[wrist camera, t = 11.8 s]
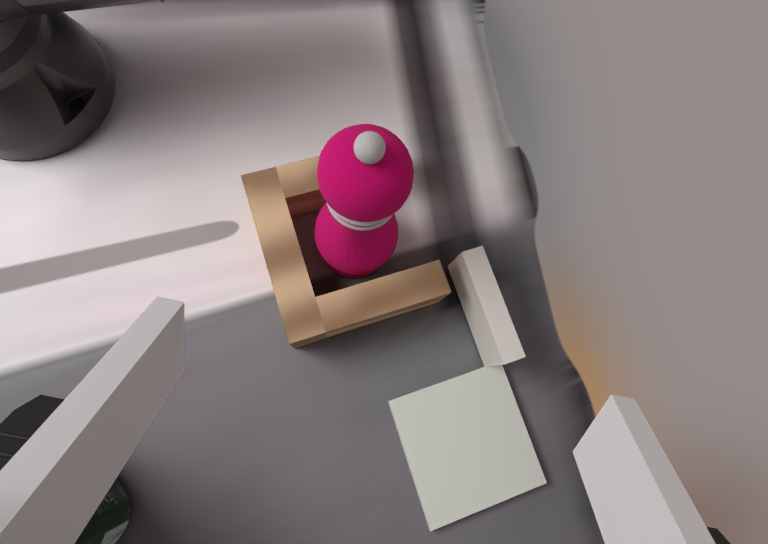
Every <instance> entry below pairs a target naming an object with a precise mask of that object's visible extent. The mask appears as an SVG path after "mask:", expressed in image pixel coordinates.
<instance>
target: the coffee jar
mask: <svg viewBox="0 0 768 544" xmlns="http://www.w3.org/2000/svg"><path fill="white" fill-rule="evenodd" d="M130 512H131V507H130V501H129V498H128V496H127V494H126V492H125V491H124V489H123V488H122V486H121V485H120V483H119V482H118V480H117V479H116V480H115V481H114V483H113V484H112V486H111V488H110V489H109V491H108V492H107V494H106V495H105V497H104V498H103V500H102V502H101V503H100V505H99V506H98V508H97V509H96V511H95V513H94V514H93V516H92V517H91V519H90V520H89V522H88V523H87V525H86V527H85V528H84V530H83V531H82V533H81V534H80V536H79V537H78V539H77V541H76V542H75V544H115V543H116V541H117V540H118V539H119V538H120V536H121V535H122V534H123V532H124V531H125V529H126V527H127V525H128V522H129V519H130Z"/></svg>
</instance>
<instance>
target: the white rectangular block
mask: <svg viewBox="0 0 768 544" xmlns="http://www.w3.org/2000/svg"><path fill="white" fill-rule="evenodd" d="M447 267H448V269H449V272H450V275H451V278H452V280H453V283H454V286H455V288H456V291H457V294H458V297H459V299H460V302H461V305H462V307H463V310H464V313H465V315H466V318H467V321H468V324H469V326H470V329H471V332H472V334H473V337H474V340H475V343H476V345H477V348H478V351H479V353H480V356H481V359H482V362H483V364H484V367H486V366H496V365H505V364H507V363H510V362H513V361H516V360H519V359H521V358H524V357H526V356H525V353H524V351H523V348H522V346H521V343H520V341H519V338H518V335H517V333H516V330H515V328H514V325H513V323H512V320H511V317H510V315H509V312H508V310H507V307H506V305H505V302H504V299H503V297H502V294H501V292H500V289H499V287H498V284H497V281H496V279H495V276H494V274H493V271H492V269H491V266H490V263H489V261H488V258H487V256H486V253H485V251H484V248H483V246H480V247H477V248H473V249H470V250H467V251H463V252H461V253H460V254H459V255H458V256H457V257H456V258H455V259H454V260H453V261H452V262H451V263H450V264H449V265H448V266H447Z"/></svg>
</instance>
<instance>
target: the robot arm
mask: <svg viewBox="0 0 768 544" xmlns="http://www.w3.org/2000/svg"><path fill="white" fill-rule="evenodd" d="M157 1H161V2H169V1H170V0H0V158H1V159H6V160H35V159H41V158H46V157H50V156H53V155H56V154H59V153H62V152H64V151H66V150H68V149H70V148H72V147H74V146H76V145H77V144H79V143H80V142H82V141H83V140H85V139H86V138H87V137H88V136H89V135H91V134H92V133H93V132H94V131H95V130H96V128H97V127H98V126H99V125H100V124H101V122H102V121H103V119H104V118H105V116H106V115H107V113H108V111H109V108H110V106H111V103H112V100H113V95H114V75H113V71H112V67H111V65H110V62H109V60H108V58H107V57H106V55H105V54H104V52H103V51H102V49H101V48H100V47H99V45H98V44H97V42H96V41H95V39H94V38H93V37H92V36H91V35H90V33H89V32H88V31H87V30H86V29H85V28H84V27H83V26H81V25H80V24H79V23H77V22H76V21H75V20H73V19H72V18H70V17H69V16H68V15H66V14H65V13H64V12H65V11H74V10H84V9H93V8H102V7H111V6H120V5H130V4H139V3H148V2H157ZM184 372H185V339H184V302H180V301H175V300H171V299H166V298H161V297H157V298H156V299H155V300H154V301H153V302H152V303H151V304H150V306H149V307H148V308H147V309H146V310H145V311H144V312H143V313H142V314H141V316H140V317H139V318H138V319H137V320H136V321H135V322H134V323H133V324H132V326H131V327H130V328H129V329H128V330H127V331H126V332H125V333H124V334H123V335H122V337H121V338H120V339H119V340H118V341H117V342H116V343H115V344H114V345H113V347H112V348H111V349H110V350H109V351H108V352H107V353H106V354H105V355H104V357H103V358H102V359H101V360H100V361H99V362H98V363H97V364H96V365H95V366H94V368H93V369H92V370H91V371H90V372H89V373H88V374H87V375H86V376H85V378H84V379H83V380H82V381H81V382H80V383H79V384H78V385H77V386H76V388H75V389H74V390H73V391H72V392H71V393H70V394H69V395H68V396H67V397H66V399H65V400H64V399H59V398H54V397H49V396H44V395H39V396H38V397H36V398H34V399H33V400H31V401H29V402H27V403H26V404H24V405H22V406H21V407H19V408H17V409H15V410H14V411H13V412H12V413H11V414H10V415H9V416H8V417H7V418H6V419H5V420H4V421H3V422H2V423H1V424H0V544H75V542H76V541H77V539H78V537H79V536H80V534H81V533H82V531H83V530H84V528H85V527H86V525H87V523H88V522H89V520H90V519H91V517H92V516H93V514H94V513H95V511H96V509H97V508H98V506H99V505H100V503H101V502H102V500H103V498H104V497H105V495H106V494H107V492H108V491H109V489H110V488H111V486H112V484H113V483H114V481H115V480H116V478H117V477H118V475H119V474H120V472H121V470H122V469H123V467H124V466H125V464H126V463H127V461H128V459H129V458H130V456H131V455H132V453H133V452H134V450H135V449H136V447H137V445H138V444H139V442H140V441H141V439H142V438H143V436H144V435H145V433H146V431H147V430H148V428H149V427H150V425H151V424H152V422H153V420H154V419H155V417H156V416H157V414H158V413H159V411H160V410H161V408H162V406H163V405H164V403H165V402H166V400H167V399H168V397H169V396H170V394H171V392H172V391H173V389H174V388H175V386H176V385H177V383H178V381H179V380H180V378H181V377H182V375H183V374H184ZM573 454H574V457H575V460H576V463H577V466H578V468H579V471H580V474H581V477H582V480H583V483H584V486H585V488H586V491H587V494H588V497H589V500H590V503H591V505H592V508H593V511H594V514H595V517H596V520H597V523H598V525H599V528H600V531H601V534H602V537H603V540H604V542H605V544H730V543H729V542H728V541H727V539H726V538H725V537H724V536H723V535H722V534H721V533H720V532H719V531H718V529H715V528H710V527H706V526H705V524H704V522H703V520H702V518H701V517H700V515H699V513H698V511H697V510H696V508H695V506H694V504H693V502H692V500H691V499H690V497H689V495H688V493H687V491H686V490H685V488H684V486H683V485H682V483H681V481H680V479H679V477H678V475H677V474H676V472H675V470H674V468H673V466H672V465H671V463H670V461H669V459H668V457H667V456H666V454H665V452H664V451H663V449H662V447H661V445H660V443H659V441H658V440H657V438H656V436H655V434H654V432H653V431H652V429H651V427H650V425H649V423H648V422H647V420H646V418H645V416H644V415H643V413H642V411H641V409H640V407H639V405H638V404H637V402H636V400H635V399H632V398H627V397H622V396H618V395H613V394H611V395H610V397H609V398H608V400H607V401H606V403H605V404H604V406H603V407H602V409H601V410H600V412H599V413H598V415H597V416H596V418H595V419H594V421H593V422H592V424H591V425H590V427H589V428H588V430H587V431H586V433H585V434H584V436H583V437H582V438H581V440H580V441H579V443H578V444H577V446H576V447H575V449H574V450H573Z"/></svg>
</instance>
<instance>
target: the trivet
mask: <svg viewBox="0 0 768 544" xmlns="http://www.w3.org/2000/svg"><path fill="white" fill-rule="evenodd" d="M388 404H389V408H390V411H391V414H392V417H393V420H394V423H395V426H396V429H397V432H398V435H399V439H400V442H401V445H402V448H403V451H404V454H405V457H406V460H407V463H408V466H409V470H410V473H411V476H412V479H413V482H414V485H415V488H416V491H417V494H418V498H419V501H420V504H421V507H422V510H423V513H424V516H425V519H426V522H427V525H428V528H429V530H430V531H433V530H435V529H438V528H440V527H442V526H445V525H447V524H450V523H452V522H454V521H457V520H459V519H462V518H464V517H466V516H469V515H471V514H474V513H476V512H478V511H481V510H483V509H486V508H488V507H490V506H493V505H495V504H498V503H500V502H502V501H505V500H507V499H510V498H512V497H514V496H517V495H519V494H522V493H524V492H526V491H529V490H531V489H534V488H536V487H538V486H541V485H543V484H546V483H547V482H546V479H545V477H544V474H543V472H542V469H541V466H540V464H539V461H538V458H537V456H536V453H535V450H534V448H533V445H532V442H531V440H530V437H529V434H528V432H527V429H526V426H525V424H524V421H523V419H522V416H521V413H520V411H519V408H518V405H517V403H516V400H515V397H514V395H513V392H512V389H511V387H510V384H509V381H508V379H507V376H506V373H505V371H504V368H503V366H502V365H496V366H486V367H481V368H478V369H476V370H473V371H470V372H467V373H464V374H462V375H459V376H456V377H453V378H450V379H447V380H445V381H442V382H439V383H436V384H433V385H431V386H428V387H425V388H422V389H419V390H416V391H414V392H411V393H408V394H405V395H402V396H400V397H397V398H394V399H391V400H388Z"/></svg>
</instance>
